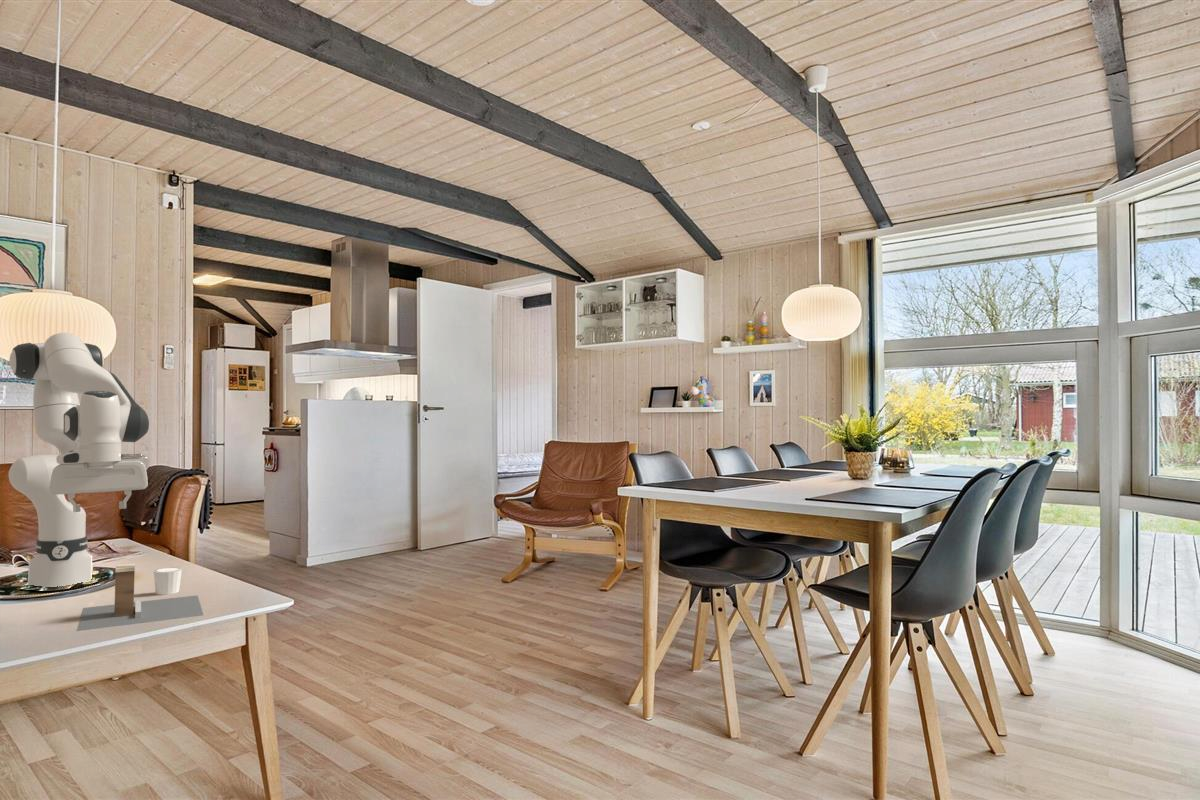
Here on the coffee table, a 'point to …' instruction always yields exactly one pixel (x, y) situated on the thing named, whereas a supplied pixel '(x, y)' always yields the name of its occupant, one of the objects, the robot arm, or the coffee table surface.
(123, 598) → the walnut block
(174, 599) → the slate mat
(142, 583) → the coffee table surface
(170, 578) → the white cup
